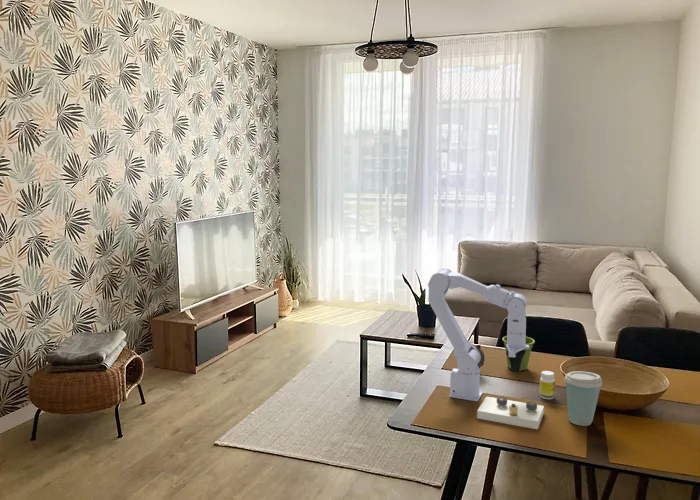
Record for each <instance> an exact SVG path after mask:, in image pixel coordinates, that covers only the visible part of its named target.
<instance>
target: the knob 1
mask: <svg viewBox="0 0 700 500" xmlns="http://www.w3.org/2000/svg"><path fill="white" fill-rule="evenodd" d="M496 398H497V404H499V407H504V408H505V405H506V404H507V400H508V398H507V397H496Z"/></svg>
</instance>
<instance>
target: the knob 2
mask: <svg viewBox="0 0 700 500" xmlns="http://www.w3.org/2000/svg"><path fill="white" fill-rule="evenodd" d="M525 403H526V408H527V409H528V412H535V410H536V409H537V405H538V404H537V403H536V402H533V401H531V402H530V401H528V402H525Z"/></svg>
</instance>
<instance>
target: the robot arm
mask: <svg viewBox="0 0 700 500" xmlns="http://www.w3.org/2000/svg"><path fill="white" fill-rule="evenodd" d="M427 287H428V303H429V305H430V307H431V309H432V311H433V312H434V314H435V316H436V318H437V320H438V322H439V323H440V326H441V327H442V329H443V331H444V333H445V334H446V336H447V338H448V339H449V342H450V343H451V345H452V347H453V353H454V355H453V356H454V358H455V360H456V366H457V368H452V370H451V372H450V382H449V383H450V384H449V385H450V386H449V397H450V398H455V399H461V400H465V401H472V402H478V401H479V400H480V398H481V397H482V395H483V393H484V392H483V391H481V390H480V387H481V386H480V382H481V380H480V377H481V373H480V372H481V370H480V368H479V367H478V363H479V362H480V360H481V355H480V353H479V351H478V350H477V349H475V348H474V347H473V345H474V344H473V345H472V342H471V341H469V340H468V339H467V338H466V336H465V333H464V332H463V330H462V328H461V326H460V324H459V323H458V321H457V320H456V317H455V315H454V313H453V312H452V310H451V308H450V307H449V304H448V302H447V301H446V296H447V294H448V290H451V289H457V288H462V289H465V290H466V291H467V290H468V291H470V292H473V293H475V294H479V295H481V296H483V297H484V299H485V301H486V302H488V303H491V304H493V305H496V306H498V307H500V308H503V309H506V310H507V313H508V314H507V331H506V333H507V334H506V336H507V344H506V346H507V349H508V350H507V351H506V350H505V355H506V354H507V356H508V358H509V361H510V365H511V369H510V370H511V373H515V374H516V373H517V374H520V372H521V371H520V368H521V363H522V359H523V356H524V354H525V352H526V350H525V349H529V345H526V344H525V343H526V337H527V335H526V333H527V332H526V331H527V330H526V329H527V317H526V316H527V313H526V308H527V306H528V300H527V297H526V296H525V295H524V294H521V292H515V291H513V290H511V291H509V290H507V289H505V288H503V287H501V285H500V284H498V283H496V284H490V285H487V284H483V283H481V282H479V281H477V280H475V279H473V278H470V277H468V276H466V275H463V274H462V273H459V271H455V270H451V269H449V268H446V267H445V268H441V269H439V270H438V271H437V272H436V273H434V274H432V275H431V276H430V279H429V281H428V283H427Z"/></svg>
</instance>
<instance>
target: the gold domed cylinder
mask: <svg viewBox="0 0 700 500" xmlns="http://www.w3.org/2000/svg"><path fill="white" fill-rule="evenodd" d="M517 413H518V407H517V406H515V404H512V405H510V406H509V414H510V415H511V416H517Z"/></svg>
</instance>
